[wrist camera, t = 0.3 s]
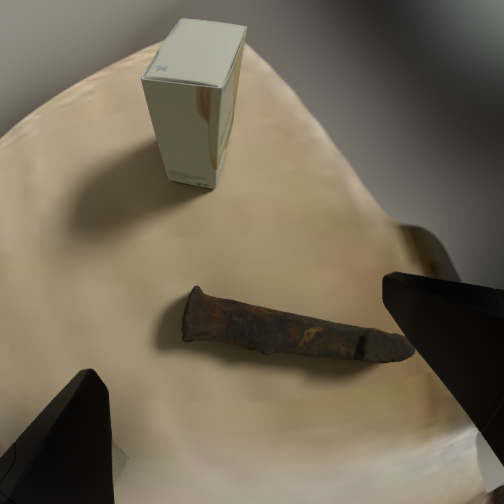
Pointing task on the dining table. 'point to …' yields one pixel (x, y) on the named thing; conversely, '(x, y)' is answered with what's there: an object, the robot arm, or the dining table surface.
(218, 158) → the skincare box
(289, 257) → the dining table surface
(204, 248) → the dining table surface
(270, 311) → the hand tool
